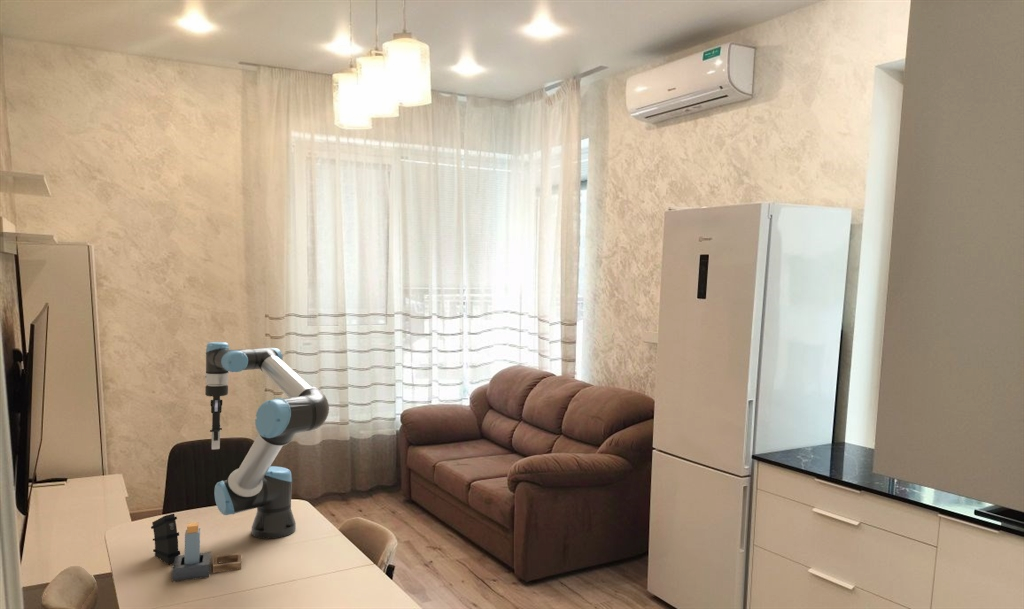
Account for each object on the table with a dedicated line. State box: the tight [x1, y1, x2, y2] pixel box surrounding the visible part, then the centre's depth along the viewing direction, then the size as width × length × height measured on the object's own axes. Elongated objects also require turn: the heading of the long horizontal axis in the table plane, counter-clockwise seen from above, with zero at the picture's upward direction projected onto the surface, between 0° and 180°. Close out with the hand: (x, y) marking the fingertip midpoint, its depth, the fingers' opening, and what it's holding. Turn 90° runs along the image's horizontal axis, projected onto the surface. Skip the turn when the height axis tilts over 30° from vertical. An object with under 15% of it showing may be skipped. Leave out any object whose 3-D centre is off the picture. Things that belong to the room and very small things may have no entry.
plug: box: [184, 522, 201, 565], centre depth 198 cm, size 4×4×15 cm
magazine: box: [150, 513, 181, 566], centre depth 207 cm, size 4×13×15 cm, turn 51°
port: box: [171, 551, 212, 583], centre depth 198 cm, size 10×10×4 cm
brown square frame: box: [212, 552, 242, 573], centre depth 203 cm, size 8×8×2 cm
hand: (215, 448), depth 234 cm, fingers closed
